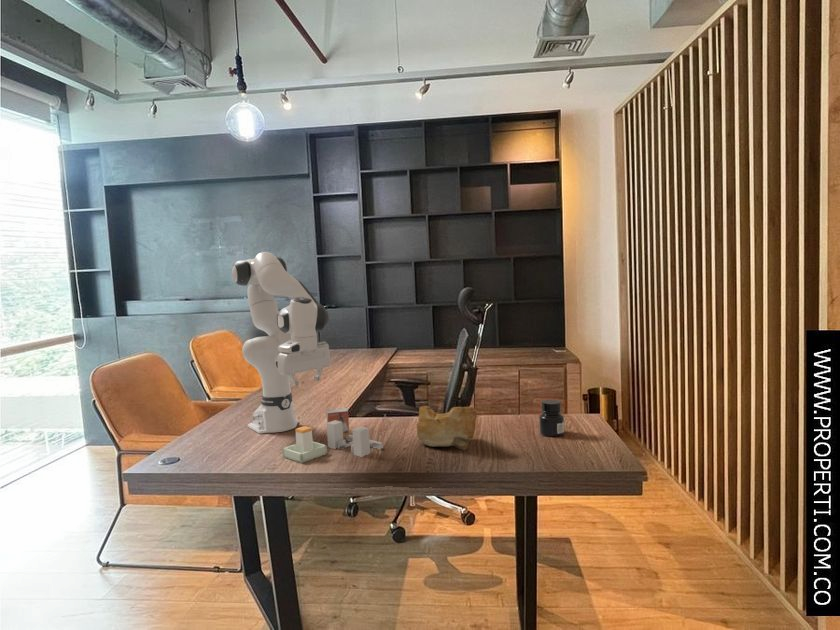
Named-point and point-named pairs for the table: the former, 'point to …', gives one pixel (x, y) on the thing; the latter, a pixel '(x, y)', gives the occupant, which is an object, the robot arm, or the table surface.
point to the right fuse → (361, 441)
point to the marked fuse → (304, 439)
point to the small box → (339, 418)
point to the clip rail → (350, 438)
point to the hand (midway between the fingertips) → (306, 383)
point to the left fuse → (334, 433)
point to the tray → (292, 452)
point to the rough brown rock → (446, 427)
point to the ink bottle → (551, 419)
